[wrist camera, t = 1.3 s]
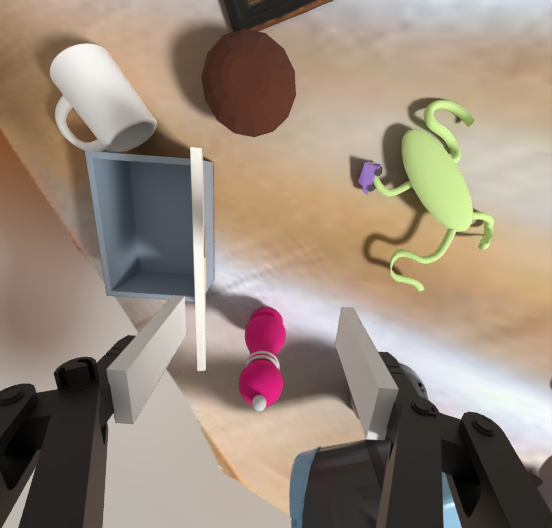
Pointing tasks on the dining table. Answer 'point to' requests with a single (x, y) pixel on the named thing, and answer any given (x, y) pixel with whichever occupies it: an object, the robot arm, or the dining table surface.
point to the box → (148, 223)
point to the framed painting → (266, 12)
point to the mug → (99, 100)
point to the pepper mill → (263, 359)
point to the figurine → (433, 183)
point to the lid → (199, 253)
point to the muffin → (249, 82)
